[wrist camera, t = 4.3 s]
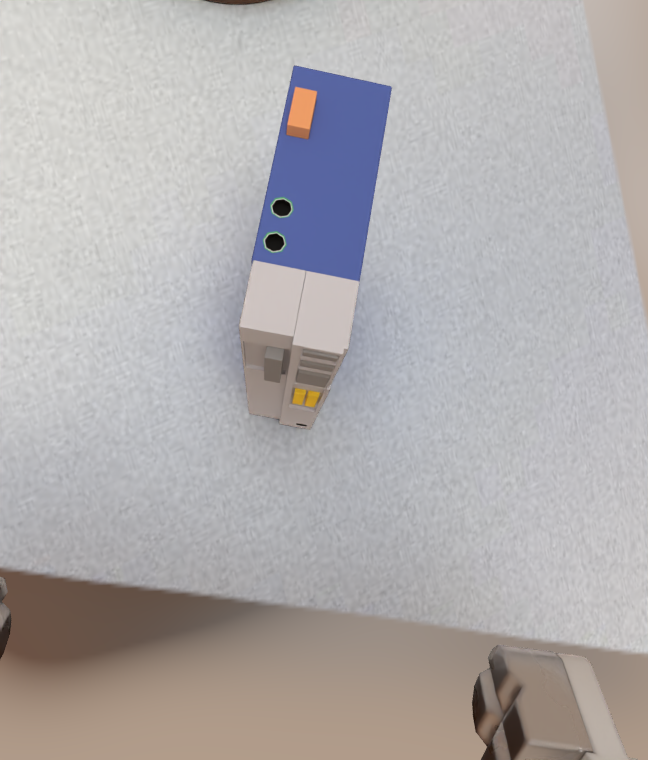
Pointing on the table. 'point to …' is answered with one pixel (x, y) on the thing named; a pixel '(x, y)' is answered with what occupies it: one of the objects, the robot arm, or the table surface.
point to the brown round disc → (237, 1)
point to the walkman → (311, 243)
